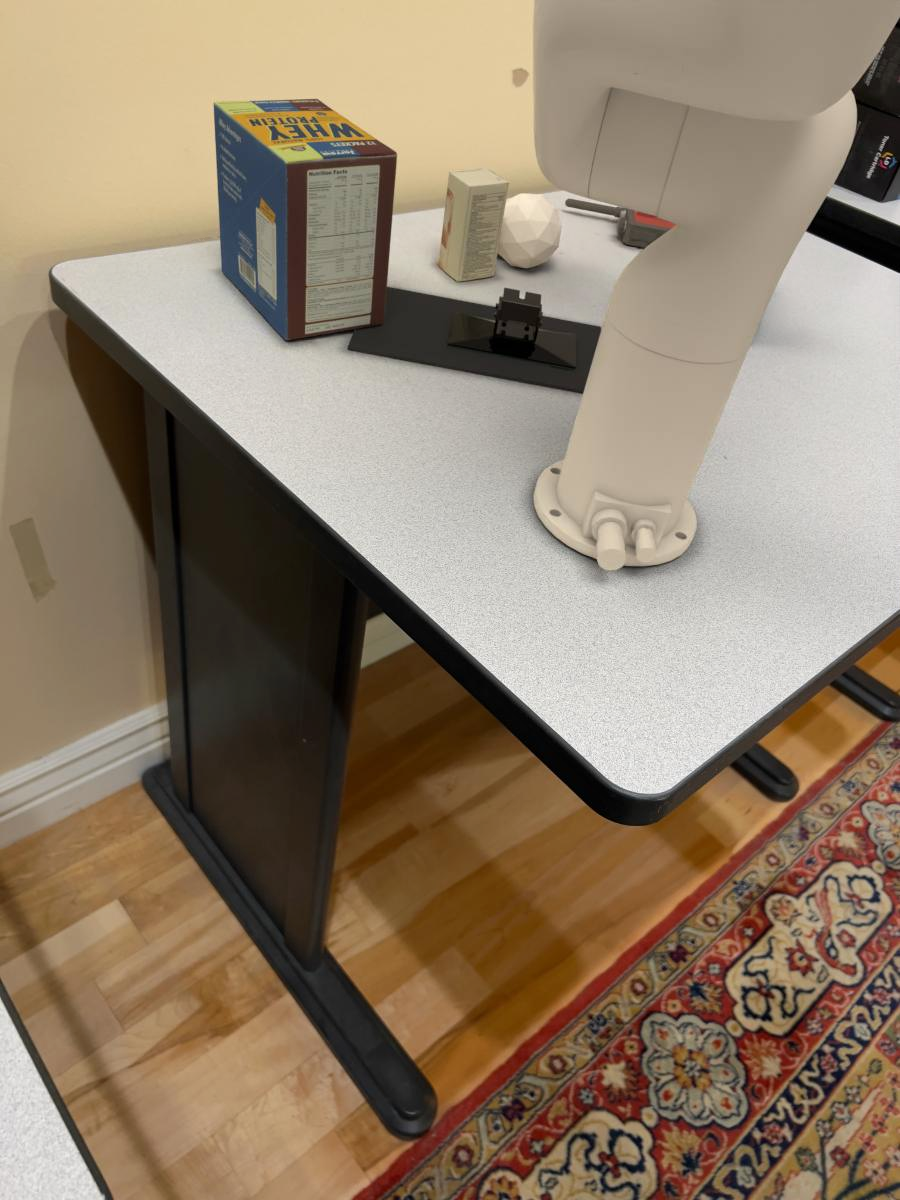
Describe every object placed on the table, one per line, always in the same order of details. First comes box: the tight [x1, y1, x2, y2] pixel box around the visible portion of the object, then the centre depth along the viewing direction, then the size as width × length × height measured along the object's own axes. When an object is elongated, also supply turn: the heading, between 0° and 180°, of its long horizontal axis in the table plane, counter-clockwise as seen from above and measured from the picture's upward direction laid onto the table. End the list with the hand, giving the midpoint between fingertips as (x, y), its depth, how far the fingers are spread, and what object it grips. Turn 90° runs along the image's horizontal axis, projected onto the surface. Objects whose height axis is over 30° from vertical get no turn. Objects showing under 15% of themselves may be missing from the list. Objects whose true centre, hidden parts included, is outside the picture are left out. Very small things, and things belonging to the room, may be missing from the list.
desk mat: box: [347, 286, 602, 394], centre depth 86 cm, size 14×24×1 cm, turn 85°
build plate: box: [447, 287, 576, 370], centre depth 85 cm, size 12×7×5 cm, turn 84°
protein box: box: [213, 98, 398, 341], centre depth 81 cm, size 10×15×16 cm
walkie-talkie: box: [564, 198, 676, 249], centre depth 112 cm, size 9×4×20 cm
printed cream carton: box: [437, 167, 510, 282], centre depth 94 cm, size 5×4×10 cm
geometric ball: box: [497, 192, 562, 269], centre depth 99 cm, size 8×8×8 cm
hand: (713, 190), depth 75 cm, fingers closed
